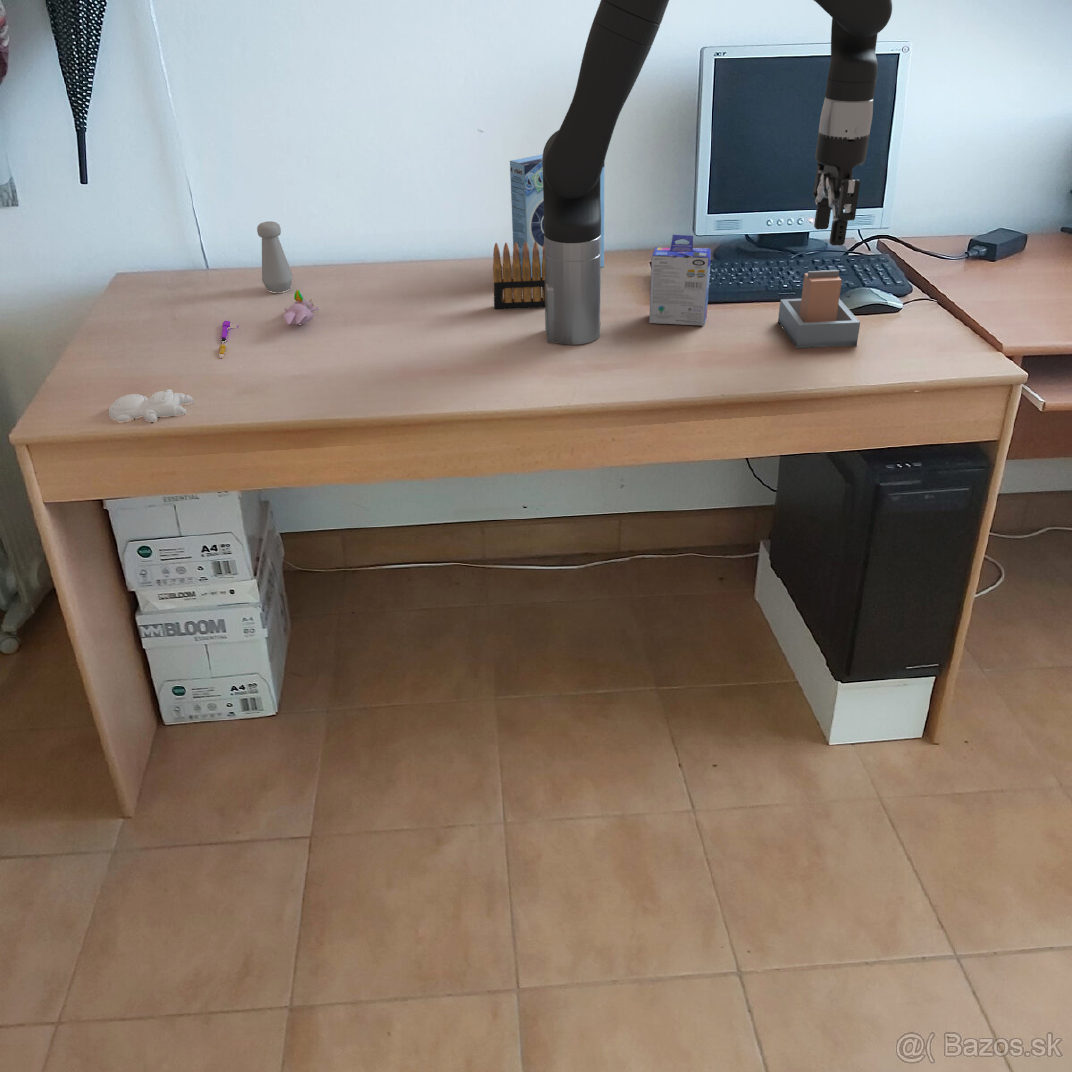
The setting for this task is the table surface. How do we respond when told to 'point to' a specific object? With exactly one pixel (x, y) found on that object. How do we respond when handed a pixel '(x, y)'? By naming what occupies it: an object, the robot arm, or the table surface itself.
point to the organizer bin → (818, 327)
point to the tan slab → (820, 296)
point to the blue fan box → (535, 205)
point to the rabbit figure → (299, 310)
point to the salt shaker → (273, 259)
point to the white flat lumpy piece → (149, 406)
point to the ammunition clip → (518, 279)
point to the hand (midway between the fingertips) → (828, 236)
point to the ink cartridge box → (679, 283)
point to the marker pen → (224, 336)
